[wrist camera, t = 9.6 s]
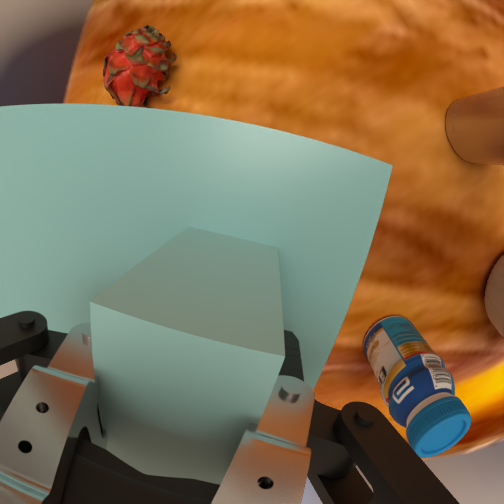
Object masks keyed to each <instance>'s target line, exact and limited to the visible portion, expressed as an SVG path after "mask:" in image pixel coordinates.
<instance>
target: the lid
mask: <svg viewBox="0 0 504 504" xmlns="http://www.w3.org/2000/svg"><path fill="white" fill-rule="evenodd" d="M392 166H393V165H391V164H388V163H385V162H382V161H380V160H377V159H374V158H371V157H368V156H365V155H362V154H359V153H356V152H353V151H350V150H347V149H344V148H341V147H338V146H334V145H331V144H328V143H324V142H321V141H317V140H314V139H310V138H307V137H303V136H299V135H295V134H291V133H288V132H284V131H279V130H275V129H271V128H267V127H262V126H258V125H253V124H248V123H244V122H239V121H233V120H228V119H223V118H217V117H211V116H205V115H199V114H193V113H186V112H178V111H171V110H162V109H153V108H143V107H132V106H118V105H100V104H36V105H34V104H33V105H17V106H4V107H0V318H2V317H5V316H8V315H11V314H14V313H17V312H21V311H35V312H38V313H40V314H42V315H43V316H44V317H45V318H46V320H47V325H48V330H52V331H57V332H62V333H69V332H70V330H71V329H72V328H73V327H74V326H76V325H78V324H81V323H87V322H91V342H92V356H93V367H94V375H95V376H98V377H99V381H100V390H101V392H100V395H99V399H98V407H99V414H100V419H101V425H102V429H105V430H106V431H107V437H108V442H107V447H106V450H107V451H109V452H110V453H112V454H113V455H115V456H116V457H118V458H119V459H121V460H122V461H124V462H125V463H127V464H128V465H130V466H131V467H133V468H135V469H136V470H138V471H140V472H142V473H144V474H147V475H155V476H164V477H175V478H191V479H197V480H201V481H205V482H210V483H214V484H219V485H221V483H222V481H223V478H224V476H225V474H226V472H227V470H228V468H229V466H230V464H231V462H232V459H233V457H234V455H235V453H236V451H237V449H238V446H239V444H240V442H241V440H242V437H243V435H244V433H245V431H246V429H247V428H248V426H249V423H255V424H259V422H260V420H261V417H262V415H263V413H264V410H265V408H266V405H267V403H268V400H269V398H270V395H271V393H272V390H273V387H274V385H275V382H276V380H277V377H278V374H279V372H280V369H281V366H282V364H283V361H284V358H285V344H284V330H287V331H292V332H293V333H294V335H295V336H296V337H297V339H298V340H299V345H300V353H301V360H302V368H303V376H304V382H305V383H307V384H308V385H309V386H310V387H311V389H312V390H313V389H314V387H315V385H316V383H317V381H318V379H319V376H320V374H321V372H322V370H323V368H324V366H325V363H326V361H327V359H328V357H329V354H330V352H331V350H332V347H333V345H334V343H335V340H336V338H337V336H338V333H339V331H340V328H341V326H342V323H343V321H344V318H345V316H346V313H347V311H348V308H349V306H350V303H351V300H352V298H353V295H354V292H355V289H356V287H357V284H358V281H359V278H360V276H361V273H362V270H363V267H364V264H365V261H366V258H367V255H368V252H369V249H370V246H371V242H372V239H373V236H374V233H375V229H376V226H377V223H378V219H379V216H380V212H381V209H382V205H383V202H384V198H385V194H386V190H387V186H388V183H389V179H390V175H391V170H392Z"/></svg>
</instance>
